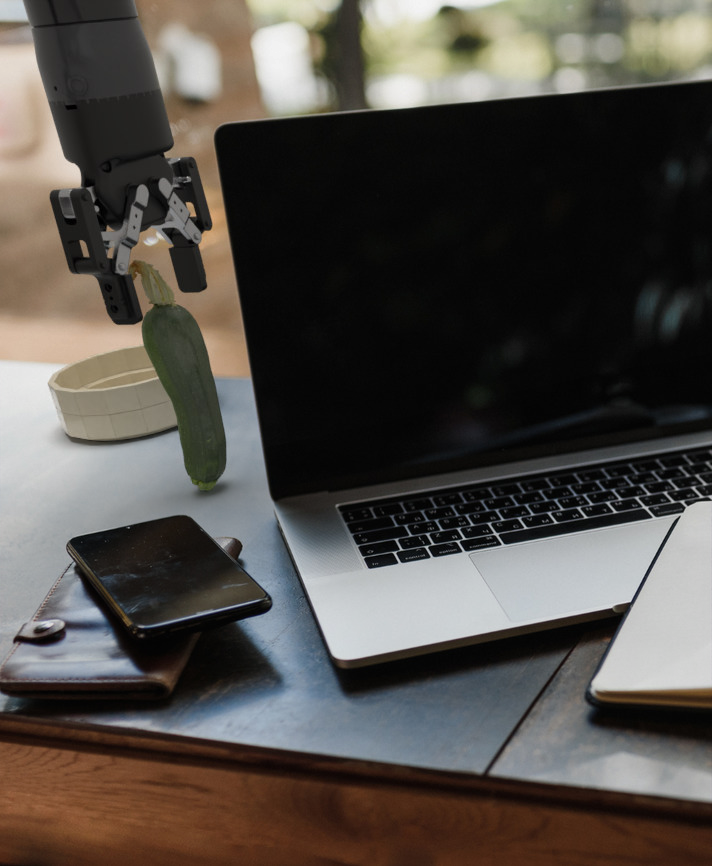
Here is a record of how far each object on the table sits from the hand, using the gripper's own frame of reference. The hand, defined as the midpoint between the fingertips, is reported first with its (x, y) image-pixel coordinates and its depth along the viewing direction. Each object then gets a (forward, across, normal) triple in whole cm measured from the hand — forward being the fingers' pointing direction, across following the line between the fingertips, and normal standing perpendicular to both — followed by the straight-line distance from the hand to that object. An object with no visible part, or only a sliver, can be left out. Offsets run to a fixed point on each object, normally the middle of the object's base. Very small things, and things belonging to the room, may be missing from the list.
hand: (162, 306), depth 84 cm
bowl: (+16, -16, -18) cm, 29 cm away
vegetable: (+16, 0, 0) cm, 16 cm away
